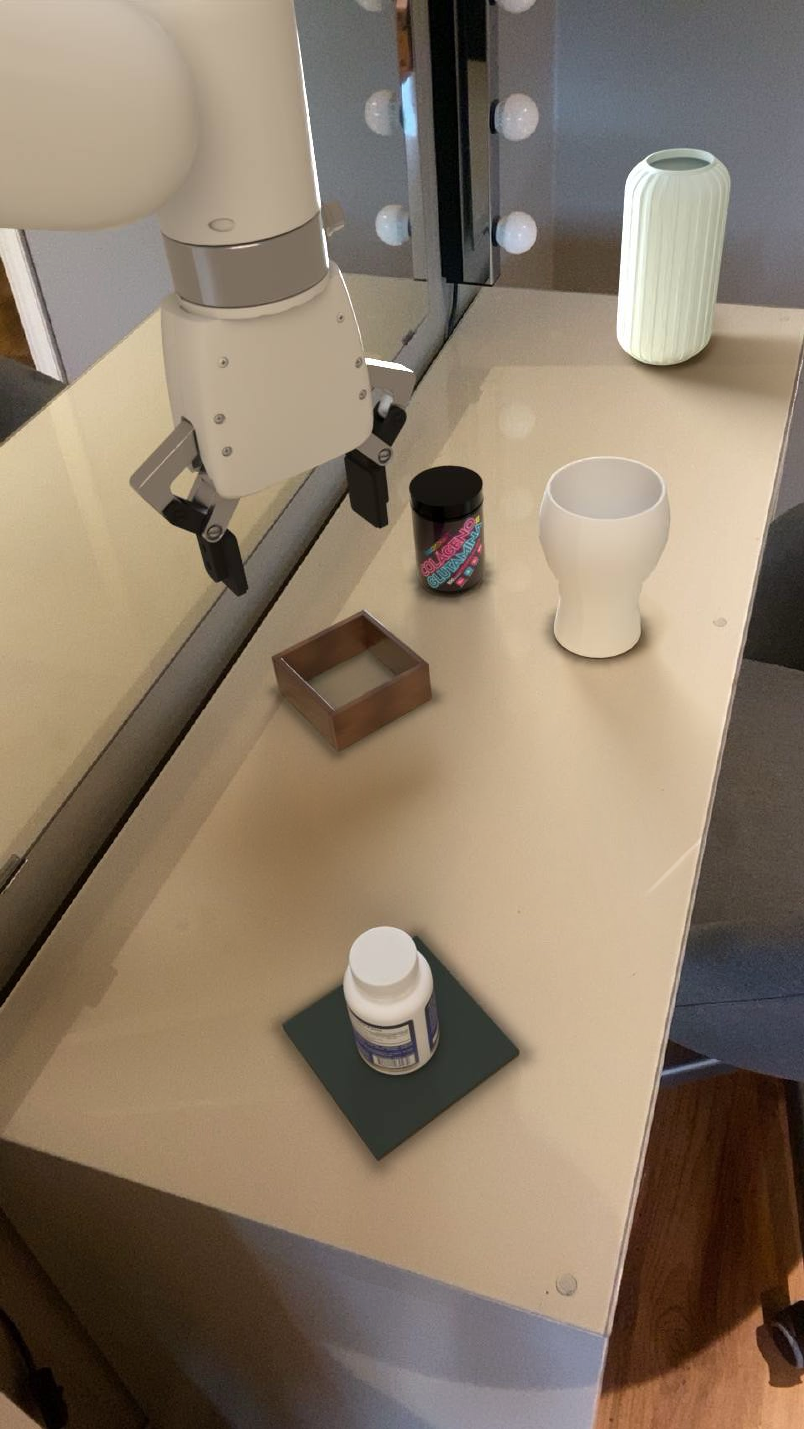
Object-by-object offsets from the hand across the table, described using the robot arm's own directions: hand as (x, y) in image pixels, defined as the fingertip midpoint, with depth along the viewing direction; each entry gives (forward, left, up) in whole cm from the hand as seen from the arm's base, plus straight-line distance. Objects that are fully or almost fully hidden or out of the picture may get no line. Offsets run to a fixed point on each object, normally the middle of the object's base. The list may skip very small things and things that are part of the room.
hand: (302, 550), depth 62 cm
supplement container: (+25, +20, -27) cm, 42 cm away
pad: (-7, -16, -26) cm, 32 cm away
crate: (+9, +13, -26) cm, 31 cm away
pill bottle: (-8, -16, -26) cm, 32 cm away
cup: (+30, +5, -27) cm, 40 cm away
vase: (+73, +39, -27) cm, 87 cm away
